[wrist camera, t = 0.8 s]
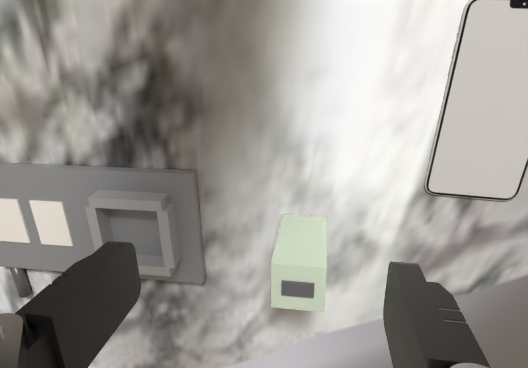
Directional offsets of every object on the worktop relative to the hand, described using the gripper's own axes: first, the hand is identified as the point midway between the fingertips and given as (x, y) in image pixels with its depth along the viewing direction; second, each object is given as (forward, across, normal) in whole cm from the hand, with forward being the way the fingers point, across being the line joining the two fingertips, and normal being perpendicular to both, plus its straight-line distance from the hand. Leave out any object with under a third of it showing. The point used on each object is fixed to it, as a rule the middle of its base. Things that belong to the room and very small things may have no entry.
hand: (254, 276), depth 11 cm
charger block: (+21, -1, +10) cm, 23 cm away
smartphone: (+21, -15, -2) cm, 26 cm away
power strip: (+21, +21, +11) cm, 32 cm away
